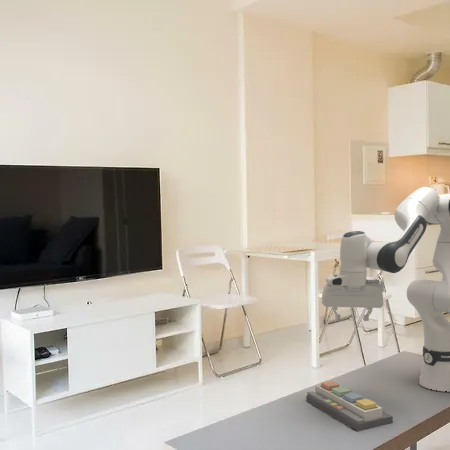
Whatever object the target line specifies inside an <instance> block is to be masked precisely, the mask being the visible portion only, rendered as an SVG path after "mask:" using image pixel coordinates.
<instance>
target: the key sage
mask: <svg viewBox="0 0 450 450" xmlns="http://www.w3.org/2000/svg"><path fill="white" fill-rule="evenodd" d="M351 392H352V390H351V389H350V388H347V387H345V386H344V385H343V386H340V387H336V388H332V393H333V394H335V395H337V396H338V397H344V394H348V393H351Z"/></svg>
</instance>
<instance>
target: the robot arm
mask: <svg viewBox="0 0 450 450" xmlns="http://www.w3.org/2000/svg"><path fill="white" fill-rule="evenodd" d="M394 220H395V222H396V224H397V226H398V227H399V228H400V229H401V230H402V231H403V232H402V233H401V235H400V236H399V237H398V238H397V240H393V241H378V240H374V239H372V238H370V237H368V235H367V234H366V233H365V232H364V231H363V230H362V231H361V230H355V231H353V230H352V231H348V232H346V233H344V234H342V237H341V241H340V248H339V249H340V250H339V258H340V266H339V273H336V274H332V275H329V276H327V277H326V278H325V283H326V284H325V285H324V286H323V288H322V289H323V290H322V296H321V304H322V305H323V307H324V308H326V307H327V308H331V309H332V312H333V313H334V317H335V321H341V314H340V313H338V312H337V311H338V308H359V309H360V308H365V309H366V310H367V311H366V313H365V314H363V315H362V318H363V319H362V320H363V321H365V322H369V319H370V316H371V314H372V312H373V308H374V309H375V308H376V309H380V308H381V309H382V307H383V306H384V294H383V293H384V290H385V289H384V287H385V285H384V283H383V282H382V281H380V280H378V279H367V273H368V271H367V269H371V270H372V269H373V270H377V271H384V272H387V273H391V274H396V273H399V272H400V271H402V270H403V269H404V268H405V266H406V264H407V262H408V260H409V257H410V255H411V253H412V252H413V250H414V249H416V248H415V247H416V246H417V245H418V243H419V242H420V240H421V239H422V237H423V236H424V234H425V232H426V230H427V227H428V226H427V224H429V225H434V224H435V225H439V226H440V231H439V234H438V237H437V239H436V245H435V249H434V253H433V257H432V265H433V267H434V268H435V269H436V270H437V271H438V272H440V273H441V275H442V278H441V279H442V280H441V281H438V280H431V279H418V280H417V279H416V280H413V281H411V282H410V283H409V284H408V286H407V288H406V297H407V301H408V302H409V303H410V304H411V306H413V308H414V309H415V310H416V312H417V313H418V315H419V317H420V319H421V322H422V326H423V346H422V356H423V357H422V363H421V371H420V374H419V382H418V384H419V385H420V386H422V387H424V388H426V389H429V390H431V389H432V391H436V390H437V392H445V391H447V392H448V393H450V321H449V320H448V319H447V318H446V317H445V314H444V313H449V314H450V193H442V194H439V193H438V192H437V191H436V190H435V189H434V188H433V187H429V186H422V187H420V188H417V189H415V191H413V192H411V193H410V194H409V195H408V196H406V198H404V199H403V200H402V201H401V202H400V204H399V205H397V207H396V209H395V211H394ZM447 392H446V393H447Z"/></svg>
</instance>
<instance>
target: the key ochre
mask: <svg viewBox="0 0 450 450" xmlns="http://www.w3.org/2000/svg"><path fill="white" fill-rule="evenodd" d="M376 405H377V403H376V402H375V401H374V400H372V399H368V398H364V399H362V400H358V401H356V406H357V407H359V408H361V409H363V410H365V411H366V410H370V409H375V408H376Z"/></svg>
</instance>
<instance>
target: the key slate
mask: <svg viewBox="0 0 450 450" xmlns="http://www.w3.org/2000/svg"><path fill="white" fill-rule="evenodd" d="M363 398H364V396H363V395H361V394H359V393H357V392H355V391H353V392H352V393H348V394H344V400H346V401H348V402H350V403H352V404H353V403H356V401H358V400H362V399H363Z"/></svg>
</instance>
